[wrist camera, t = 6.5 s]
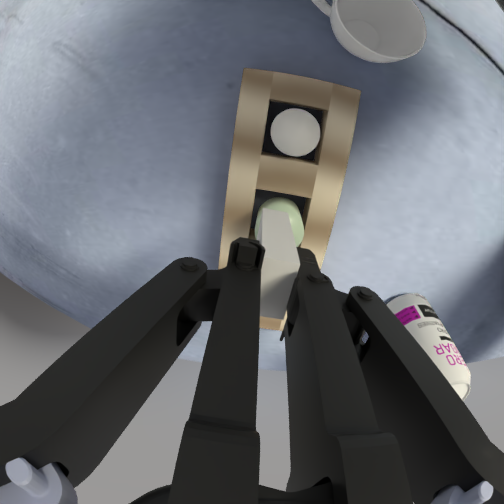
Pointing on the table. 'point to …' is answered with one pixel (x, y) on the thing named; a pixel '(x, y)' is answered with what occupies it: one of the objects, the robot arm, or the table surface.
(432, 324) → the supplement can
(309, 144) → the button white
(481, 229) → the table surface
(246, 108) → the wooden ball rack
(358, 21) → the cup
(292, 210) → the button green
